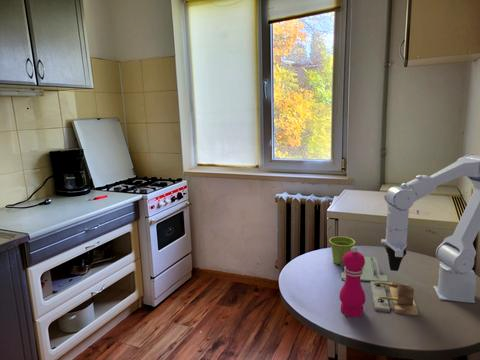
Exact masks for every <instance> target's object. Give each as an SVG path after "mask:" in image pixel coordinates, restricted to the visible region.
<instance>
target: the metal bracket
mask: <svg viewBox="0 0 480 360" xmlns="http://www.w3.org/2000/svg"><path fill="white" fill-rule="evenodd" d="M364 259H365V265H364V266H363V268H362V269H363V271H362V272H363V274H362V275H361V277H360V281H365V282H366V281H367V282H370V281H373V282H376V281H377V282H387V283H388V282H389V281H388V276H387V275H385V274H383V275H382V274H381V272H380V268H379V265H378V259H377V257H376V256H375V257H374V256H373V255H370V256H364ZM340 275H341V277H340V278H341V280H344V282H345V281H346V273H345V272H341V273H340Z"/></svg>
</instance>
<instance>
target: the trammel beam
mask: <svg viewBox="0 0 480 360" xmlns="http://www.w3.org/2000/svg"><path fill="white" fill-rule="evenodd" d="M375 282H376V284H382V285H384V286H387V288H388V291H389V297H395V298H397V286H398V284H401V285H409V284H407V283H404V282H389V281H388V282H377V281H375ZM391 302H392V306H393V309H394V310H393V311H394V312H395V313H396V314H404V315H411V316H412V315H414V316H419V310H418V307H417V304H416V302H415V299H414V298H413V305H404V304H398V302H397V301H396V300H391Z"/></svg>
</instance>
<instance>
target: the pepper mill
mask: <svg viewBox="0 0 480 360" xmlns="http://www.w3.org/2000/svg"><path fill="white" fill-rule="evenodd" d="M364 257H365V256H364V254H362V253H361V252H360V251H358V248H357V247H356V246H353V247H352V248H351V251H349V252H347V253H345V255H344V256H343V264H344V265H343V266H344V271H343V273H346V274H345V275H346V281H345V280H344V283H343V285H342V287H341V289H340V291H339V300H340V302H341V303H340V311H341V313H342V314H343V315H345V316H347V317H350V318H359V317H361V316H362V315H363V314H364V305H365V303H366V300H367V299H366V295H365V290H364V288H363V287H362V282H361V280H360V277H361V275H362V274H363V272H362V271H363V269H362V268H363V266H364V265H365V259H364Z"/></svg>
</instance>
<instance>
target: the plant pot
mask: <svg viewBox="0 0 480 360" xmlns="http://www.w3.org/2000/svg"><path fill="white" fill-rule="evenodd" d="M328 241H329V243H330V247H331V254H332V261H333V263H334V264H335V265H336V264H337V265H341V266H345V265H344V264H343V256H344V255H345V253H347V252H349V251H351V248H352V247H355V244H356V241H355V240H354V239H353V238H350V237H349V236H348V237H347V236H333V237H330V238H329V240H328Z"/></svg>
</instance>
